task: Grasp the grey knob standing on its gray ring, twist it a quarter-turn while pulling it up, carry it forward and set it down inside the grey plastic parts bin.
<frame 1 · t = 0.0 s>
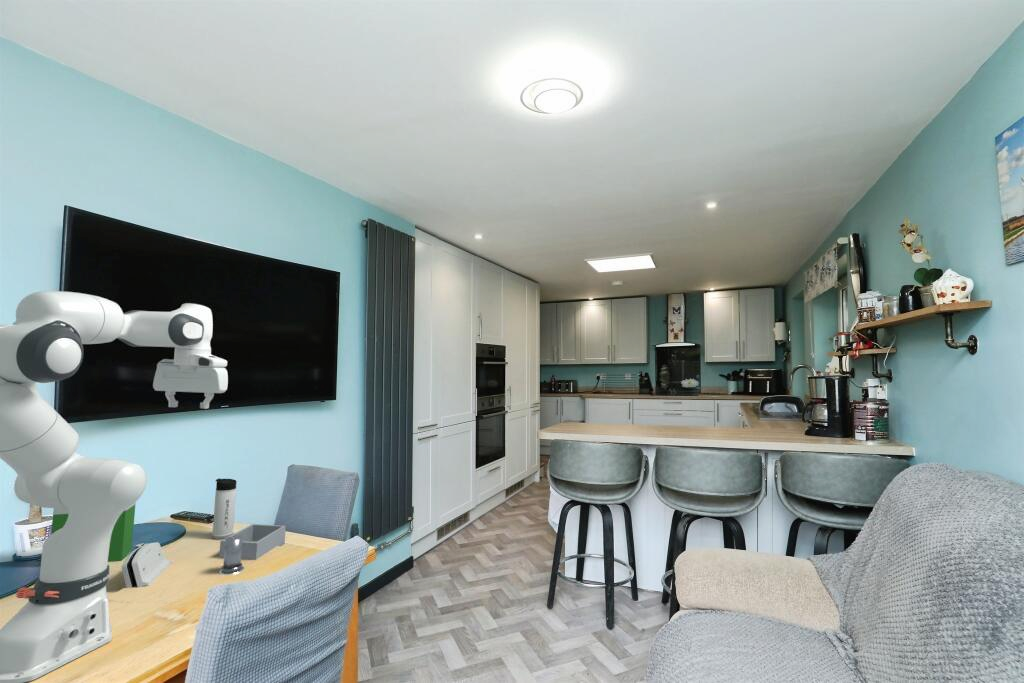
hand: (188, 407, 137), 48 cm above the table, tool pointing down, fingers open, 8 cm apart
travel mug: (222, 537, 168), on the table
hardback book: (91, 559, 146), on the table
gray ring: (231, 573, 139), on the table
grey knob: (231, 570, 139), point 1 cm above the table, touching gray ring
bin: (253, 551, 156), on the table
white curved housing: (145, 579, 134), on the table
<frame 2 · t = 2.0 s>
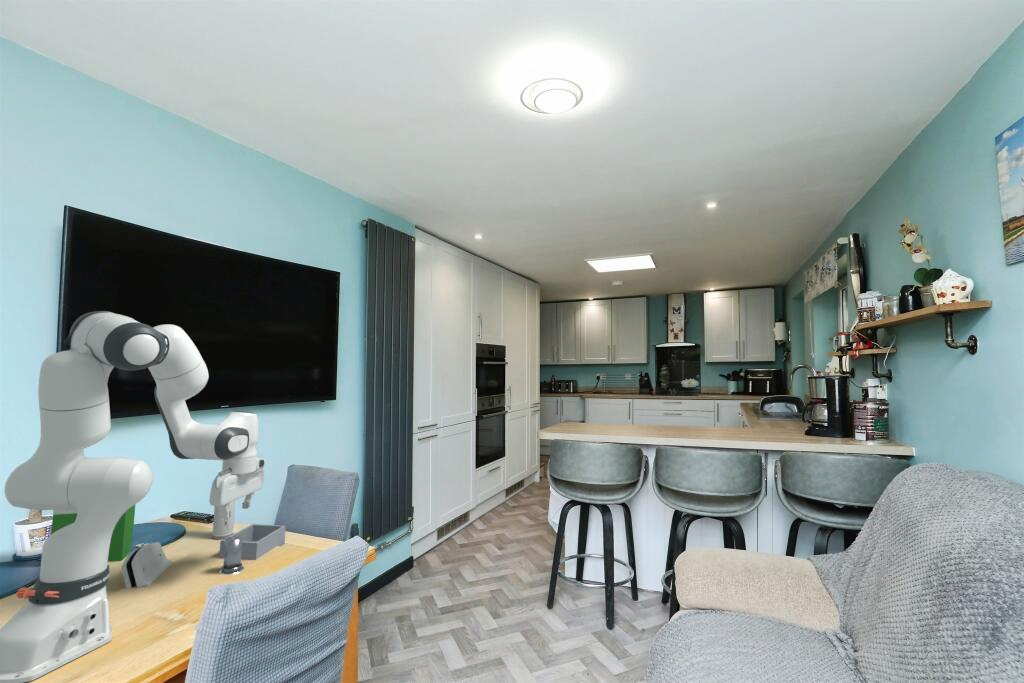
hand: (236, 512, 140), 17 cm above the table, tool pointing down, fingers open, 8 cm apart
nothing on the table moved.
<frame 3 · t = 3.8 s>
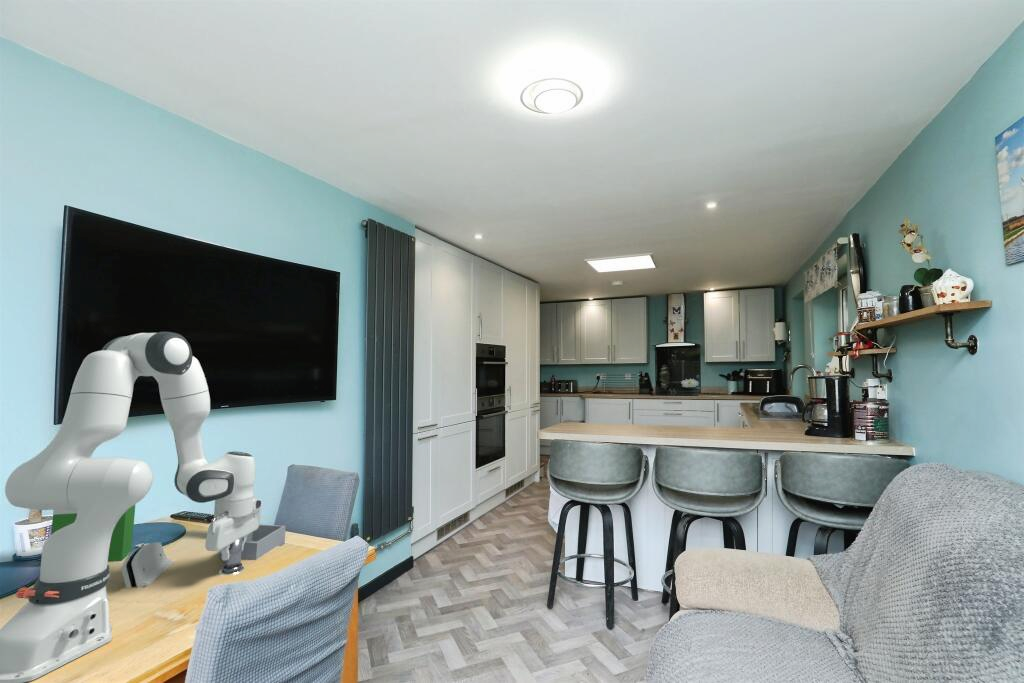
hand: (232, 555, 139), 5 cm above the table, tool pointing down, fingers closed on grey knob, 4 cm apart
grey knob: (231, 570, 139), point 1 cm above the table, touching gripper, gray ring
everything else where it was.
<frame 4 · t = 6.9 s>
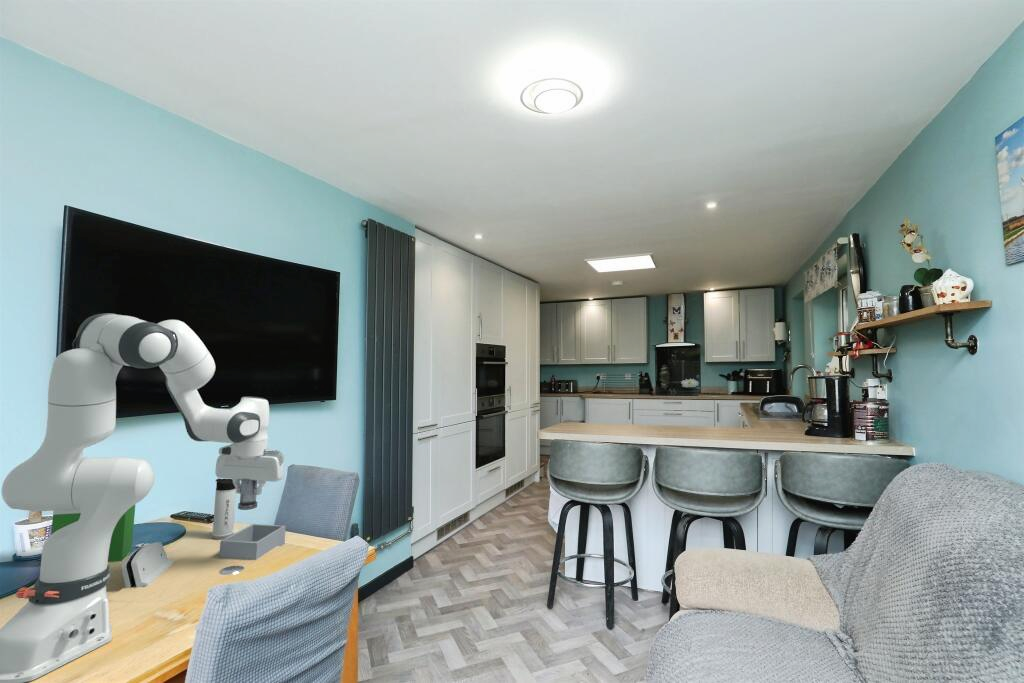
hand: (248, 493, 147), 21 cm above the table, tool pointing down, fingers closed on grey knob, 4 cm apart
grey knob: (247, 507, 147), point 17 cm above the table, touching gripper
everything else where it was.
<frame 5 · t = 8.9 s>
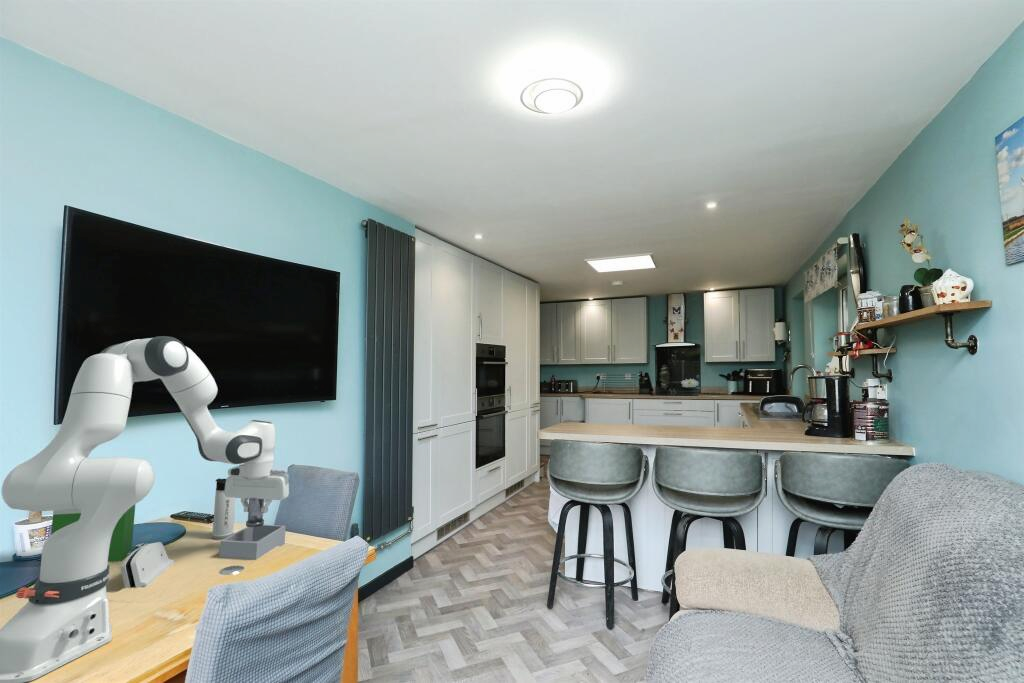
hand: (255, 512, 157), 13 cm above the table, tool pointing down, fingers closed on grey knob, 4 cm apart
grey knob: (254, 524, 156), point 9 cm above the table, touching gripper
everything else where it was.
when the fingers open (7 cm above the table, at t = 10.3 s): grey knob drops 2 cm, resting on bin.
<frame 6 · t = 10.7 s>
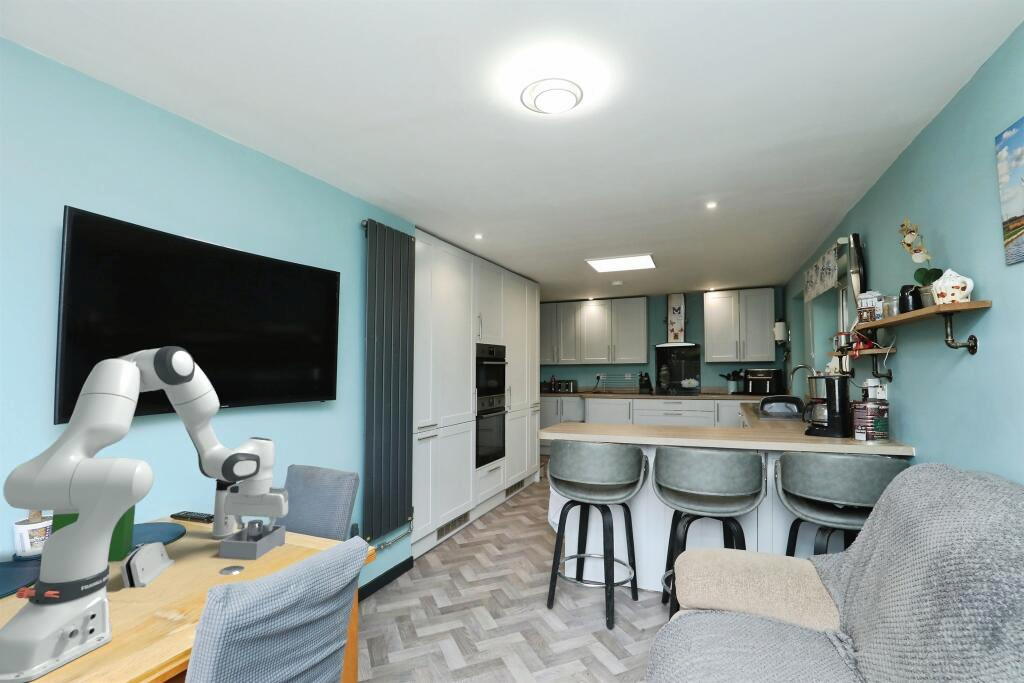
hand: (254, 529, 156), 7 cm above the table, tool pointing down, fingers open, 8 cm apart
grey knob: (253, 549, 156), point 1 cm above the table, touching bin
everything else where it was.
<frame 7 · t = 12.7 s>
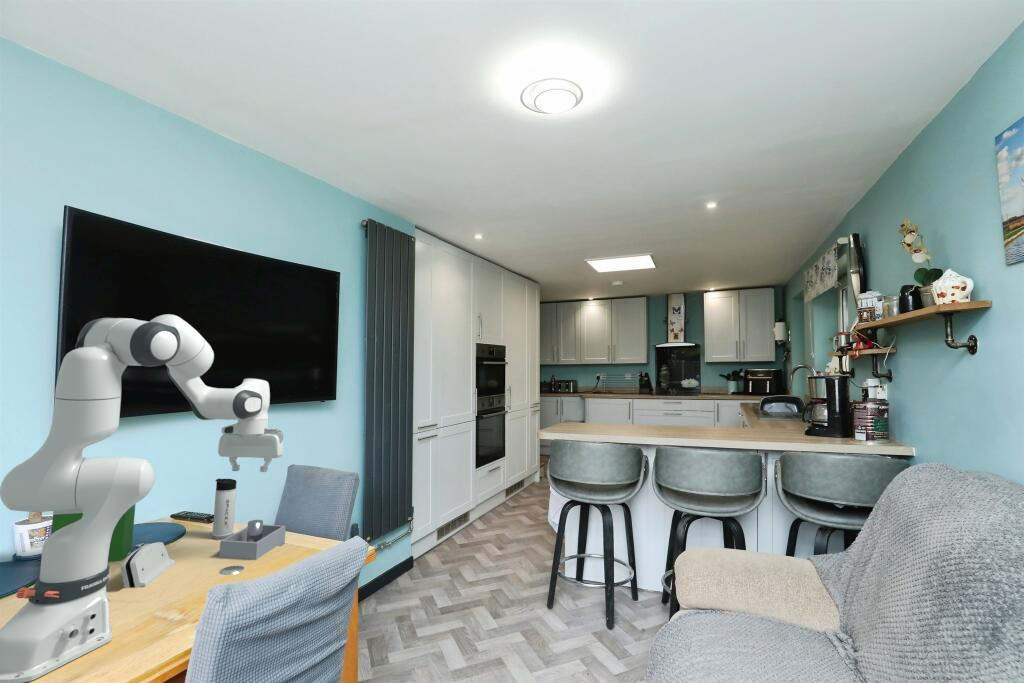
hand: (249, 471, 154), 26 cm above the table, tool pointing down, fingers open, 8 cm apart
nothing on the table moved.
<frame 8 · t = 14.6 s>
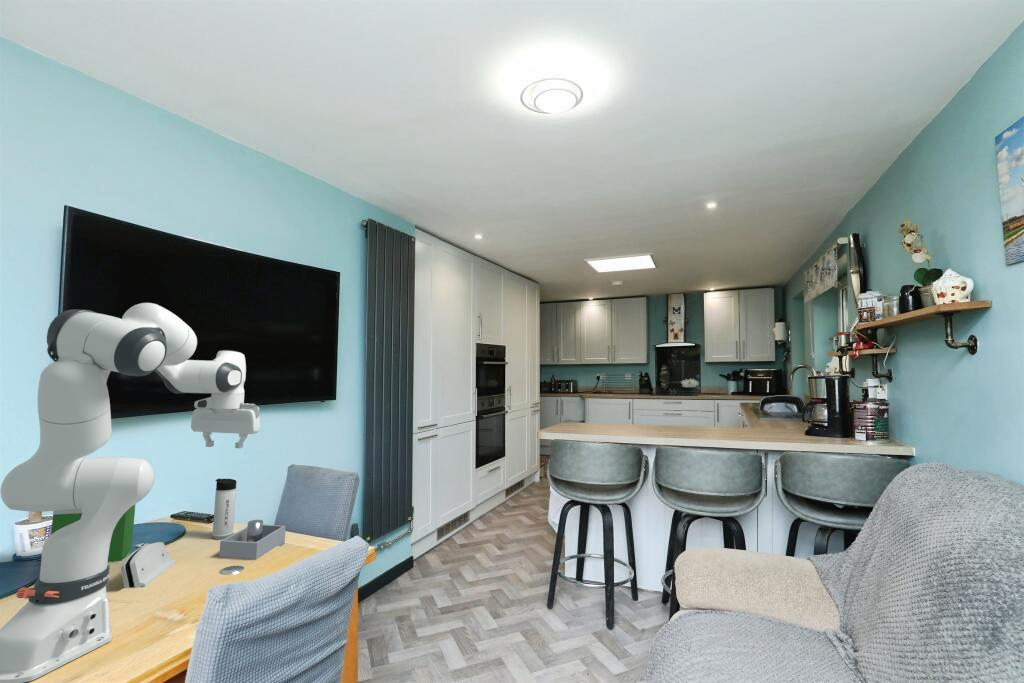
hand: (224, 447, 148), 35 cm above the table, tool pointing down, fingers open, 8 cm apart
nothing on the table moved.
at the end: grey knob inside the target area on the bin (0.0 cm from its centre), point 0.6 cm above the bin's base; the gripper is holding nothing; grey knob moved 16.8 cm from its start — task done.
